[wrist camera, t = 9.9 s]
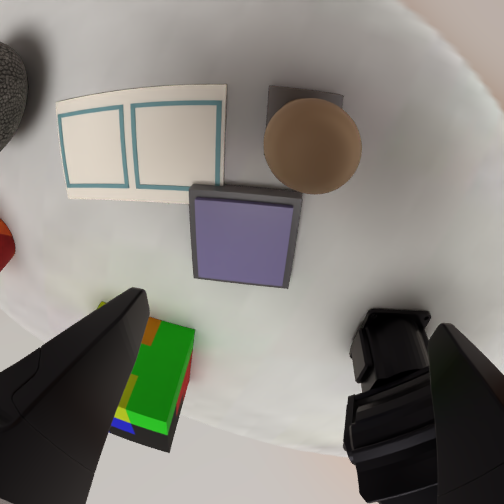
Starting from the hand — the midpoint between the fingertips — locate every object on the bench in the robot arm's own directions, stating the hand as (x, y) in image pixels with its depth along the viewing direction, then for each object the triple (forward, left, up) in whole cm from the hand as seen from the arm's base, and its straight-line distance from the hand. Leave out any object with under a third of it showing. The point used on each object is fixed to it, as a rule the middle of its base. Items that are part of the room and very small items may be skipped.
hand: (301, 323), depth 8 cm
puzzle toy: (+13, +19, -12) cm, 26 cm away
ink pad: (+3, +4, -12) cm, 13 cm away
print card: (+11, -2, -12) cm, 16 cm away
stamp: (0, -4, -12) cm, 13 cm away
